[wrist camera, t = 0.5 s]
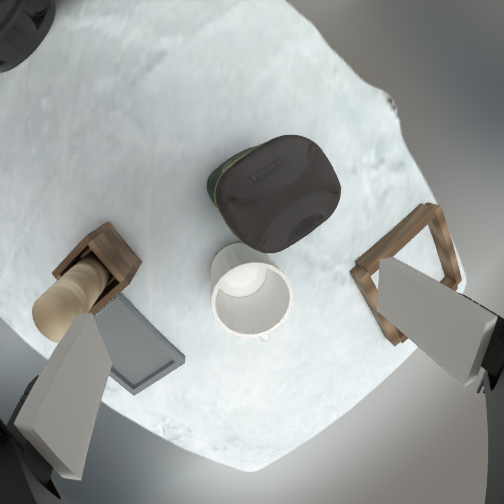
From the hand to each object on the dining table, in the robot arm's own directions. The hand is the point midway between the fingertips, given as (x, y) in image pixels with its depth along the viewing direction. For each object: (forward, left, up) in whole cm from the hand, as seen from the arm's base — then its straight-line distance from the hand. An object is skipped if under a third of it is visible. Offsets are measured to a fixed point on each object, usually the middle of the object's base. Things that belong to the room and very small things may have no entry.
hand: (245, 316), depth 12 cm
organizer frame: (+28, +21, -27) cm, 44 cm away
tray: (+7, -23, -27) cm, 36 cm away
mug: (+9, -2, -27) cm, 29 cm away
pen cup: (-5, -15, -27) cm, 31 cm away
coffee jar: (-1, +6, -27) cm, 28 cm away
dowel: (-5, -15, -26) cm, 30 cm away
